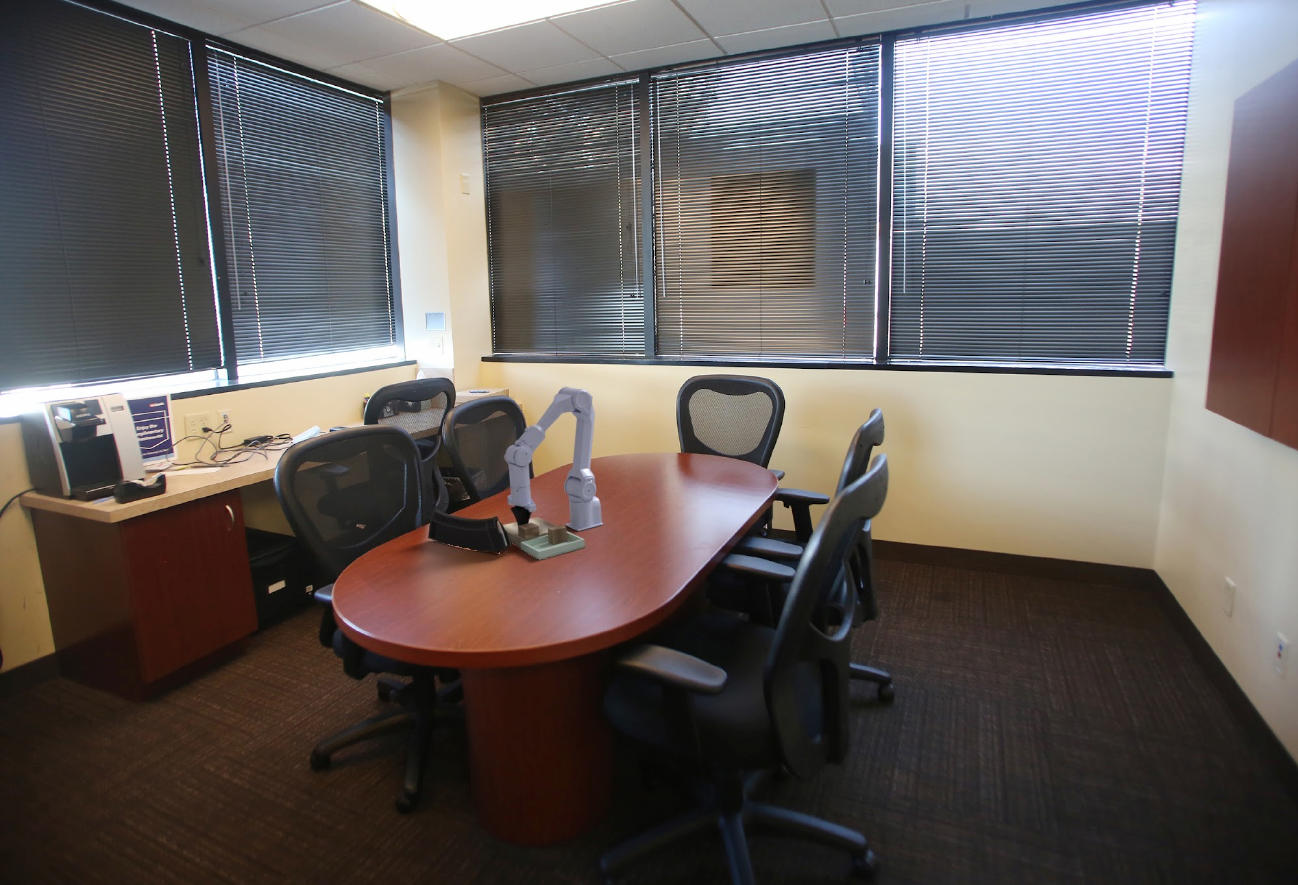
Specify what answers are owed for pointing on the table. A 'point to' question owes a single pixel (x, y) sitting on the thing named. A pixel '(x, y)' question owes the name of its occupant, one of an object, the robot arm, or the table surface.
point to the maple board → (543, 525)
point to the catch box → (551, 546)
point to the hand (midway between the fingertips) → (523, 529)
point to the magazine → (469, 532)
